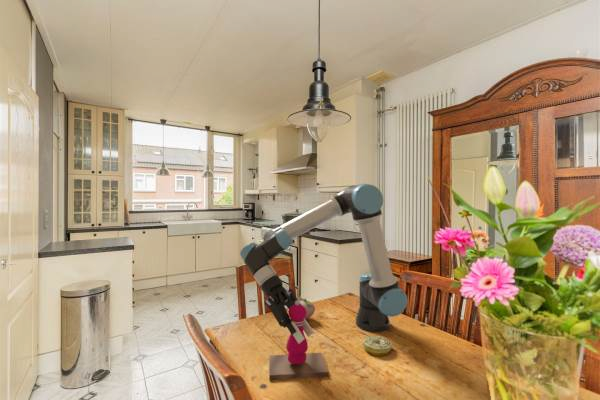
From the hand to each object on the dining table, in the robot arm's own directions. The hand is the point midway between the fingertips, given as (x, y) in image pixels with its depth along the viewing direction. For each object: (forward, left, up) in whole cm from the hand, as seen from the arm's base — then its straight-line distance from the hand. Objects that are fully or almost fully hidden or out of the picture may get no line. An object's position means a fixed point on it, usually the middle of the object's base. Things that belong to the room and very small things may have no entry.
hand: (306, 337), depth 97 cm
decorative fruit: (-5, -42, -11) cm, 44 cm away
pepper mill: (+3, -2, -8) cm, 9 cm away
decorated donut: (-29, -11, -12) cm, 33 cm away
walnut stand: (+3, -2, -11) cm, 12 cm away
